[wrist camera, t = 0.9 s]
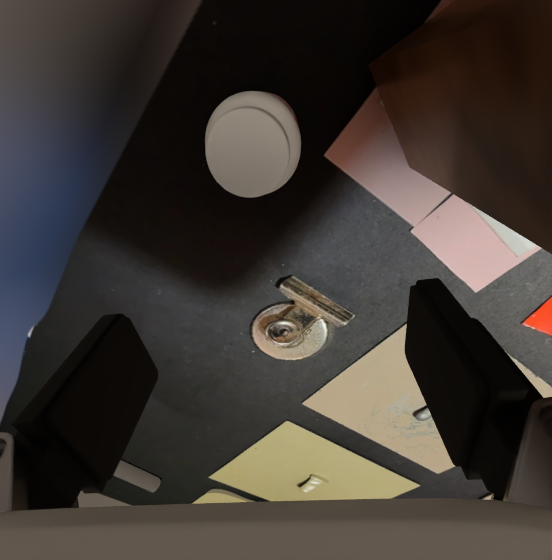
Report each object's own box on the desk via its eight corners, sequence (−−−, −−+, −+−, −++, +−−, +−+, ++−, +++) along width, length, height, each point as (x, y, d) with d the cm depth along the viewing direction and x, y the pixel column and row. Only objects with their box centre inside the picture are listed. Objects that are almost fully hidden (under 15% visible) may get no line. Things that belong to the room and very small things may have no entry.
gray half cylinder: (151, 485, 61) (148, 495, 60) (61, 444, 54) (54, 454, 53) (163, 478, 59) (160, 488, 58) (71, 436, 52) (65, 446, 51)
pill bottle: (305, 99, 24) (314, 102, 15) (291, 175, 28) (292, 217, 18) (229, 85, 24) (191, 79, 15) (225, 164, 27) (190, 201, 18)
